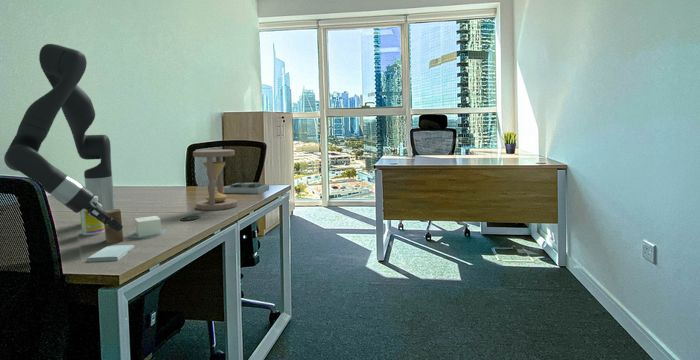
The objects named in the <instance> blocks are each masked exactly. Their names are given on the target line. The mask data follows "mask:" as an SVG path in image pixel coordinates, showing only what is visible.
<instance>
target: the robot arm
mask: <svg viewBox="0 0 700 360" xmlns="http://www.w3.org/2000/svg"><path fill="white" fill-rule="evenodd" d="M38 58H39V59H38V60H39V64H40V69H41V70H42V72H43V73H44V76H45V77H46V80H48V83H49V85H50V86H51V87H52V88H51V90H49V91H48V92H46V93H45V94H44V95H42V96H41V97H39V98H38V99H36V100H35V101H33V102H32V103H30V105H29V106H28V108H27V110H26V111H25V113H24V115H23V117H22V119H21V121H20V124H19V125H18V129H17V132H16V133H15V135H14V137H13V139H12V141H11V143H10V145H9V146H8V148H7V150H6V152H5V154H4V158H3V159H4V160H3V161H4V163H5V165H6V166H7V167H8V168H9V169H10V170H12V171H15V172H19V173H21V174H22V175H24V176H26V177H27V178H29V179H30V178H32V179H35V180H37V181H38V182H40V183H41V184H42V186H43V187H44V189H45V190H44V192H46V193H48V194H49V195H50V196H51V197H53V198H54V199H55V200H56V201H57V202H59V203H61V204H62V205H64V206H66V207H67V208H68V209H69V210H71V211H72V212H74V213H75V214H77V213H80V211H81V210H82V209H86V210H87V214H88V215H90V216H92V217H94V218H95V219H97V220H98V221H101V222H102V223H104V226H105V225H109V226H110V227H111V228H113V229H114V230H116V231H117V232H119V231H120V230H121V229H122V230H123V224H122V225H121V224H119V223H118V222H116V221H115V220H114V219H113V218H112V217H110V216H109V215H108V212H106V211H105V210H114V209H116V207H115V206H116V204H115V195H114V184H113V183H114V182H113V172H112V171H113V170H112V158H111V157H112V155H111V152H112V151H111V140H110V138H109V136H108V135H107V134H86V132H87V131H88V129H89V128H90V127H91V126H92V124H93V123H94V120H95V119H96V118H95V117H96V111H95V108H94V105H93V101H92V100H91V98H90V96H89V95H88V93H86V91H85V90H83V89H82V88H81V87H80V86H79V85H78V84H79V82H80V81H81V79H82V78H83V76H84V74H85V72H86V70H87V64H88V63H87V58H86V55H85V54H84V53H83V52H82V51H79V50H76V49H73V48H70V47H66V46H63V45H59V44H54V43H46V44H44V45H43V46H42V47H41V48H40V51H39V55H38ZM60 110H62V113H63V116H64V117H65V120H66V123H67V124H68V127H69V128H70V132H71V135H72V138H73V141H74V145H75V147H76V151H77V153H78V156H79V157H80V159H82V160H100V162H99V164H97V165H95V166H93V167H91V168H87V169H85V170H84V172H83V177H84V185H82V183H80V182H79V181H77V180H76V179H74V178H73V177H70V176H68V174H66V173H64V172H63V171H62V170H61V169H59V168H57V167H56V166H54V165H53V164H52V163H50V162H49V161H48V160H47V159H46V158H45V157H44V156H43V155H41V154H40V153H39V151H40V148H41V146H42V143H43V142H44V141H45V139H46V138H47V137H48V134H49V132H50V129H51V127H52V125H53V123H54V121H55V119H56V118H57V115H58V113H59V112H60ZM32 179H31V180H32ZM94 196H98V203H99V204H101V205H102V207H101V205H99V204H98V203H97V202H96V203H95V202H91V200H92V199H93V197H94ZM105 217H107V219H106V220H105V221H104V218H105Z"/></svg>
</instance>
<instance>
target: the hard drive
mask: <svg viewBox="0 0 700 360" xmlns="http://www.w3.org/2000/svg"><path fill="white" fill-rule="evenodd" d="M134 248H135V244H125V245H124V244H121V245H107V246H105V247H103V248H102V249H100V250H98V251H97V252H95V253H93V254H92V255H90V256H88V257H86V263H87V262H88V263H90V262H91V263H93V262H111V261H113V262H114V261H115V262H116V261H119V260H121V259H122V258H123V257H124V256H126V255H127V254H129V253H130V251H131V250H132V249H134Z"/></svg>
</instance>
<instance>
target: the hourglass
mask: <svg viewBox="0 0 700 360" xmlns="http://www.w3.org/2000/svg"><path fill="white" fill-rule="evenodd" d="M232 156H235V150H234V149H227V148H226V149H221V148H220V149H200V150H194V151H192V157H194V158H206V162H203V165H204V167H205V169H206V176H207V178H208V185H207V192H208V195H207V196H205V198H206V199H204V200H199V201H197V202H196V203H195V206H196V209H197V210H201V211H222V210H228V209H233V208H235V207H237V206H238V200H237V199H234V198H228V195H227V194H225V193H224V181H223V178H222V175H223V170H224V167H225V165H226V161H222V158H223V157H232ZM213 158H215V161H214V159H213ZM215 181H216V186H215V183H214V182H215ZM216 188H217V189H216ZM216 190H217V191H216Z"/></svg>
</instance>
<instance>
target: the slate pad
mask: <svg viewBox="0 0 700 360" xmlns="http://www.w3.org/2000/svg"><path fill="white" fill-rule="evenodd" d="M161 230H162V234H166V233H168V232H170V231H172V229H170V228H169V229H167V228H166V229H164V228H163V229H162V228H161ZM162 234H157V235H150V236H143V237H139V236H138V235H137V234H136V231H134V232H130V233H129V234H126V235H123V238H128V239H153V238H155V237H159V236H160V235H162Z"/></svg>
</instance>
